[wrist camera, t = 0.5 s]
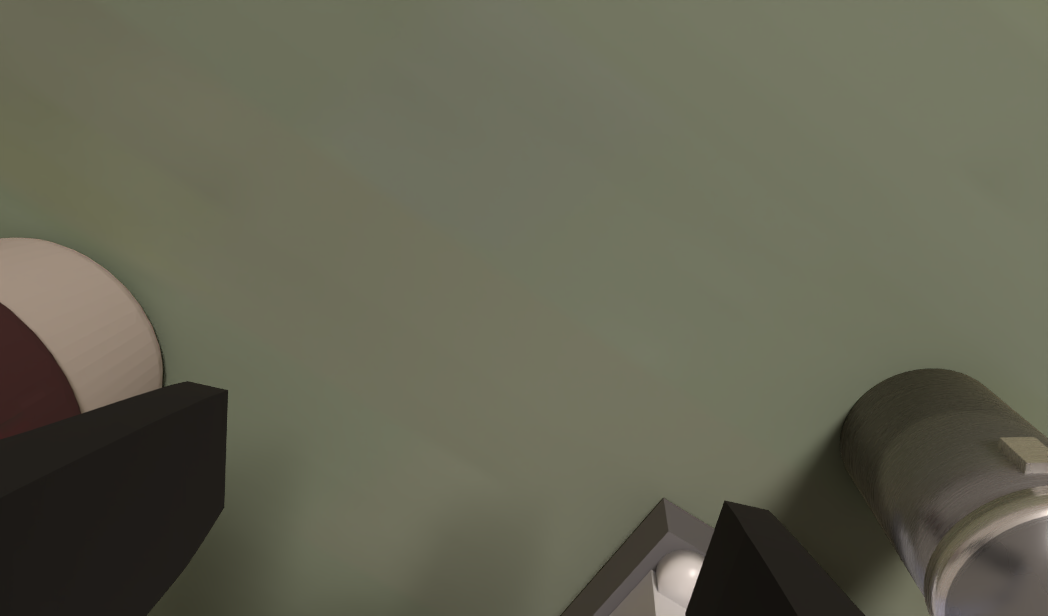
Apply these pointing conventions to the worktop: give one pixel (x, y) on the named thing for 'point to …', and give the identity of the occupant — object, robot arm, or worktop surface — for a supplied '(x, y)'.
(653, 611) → the camera body
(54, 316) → the coffee cup
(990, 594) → the lens
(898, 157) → the worktop surface
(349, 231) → the worktop surface
